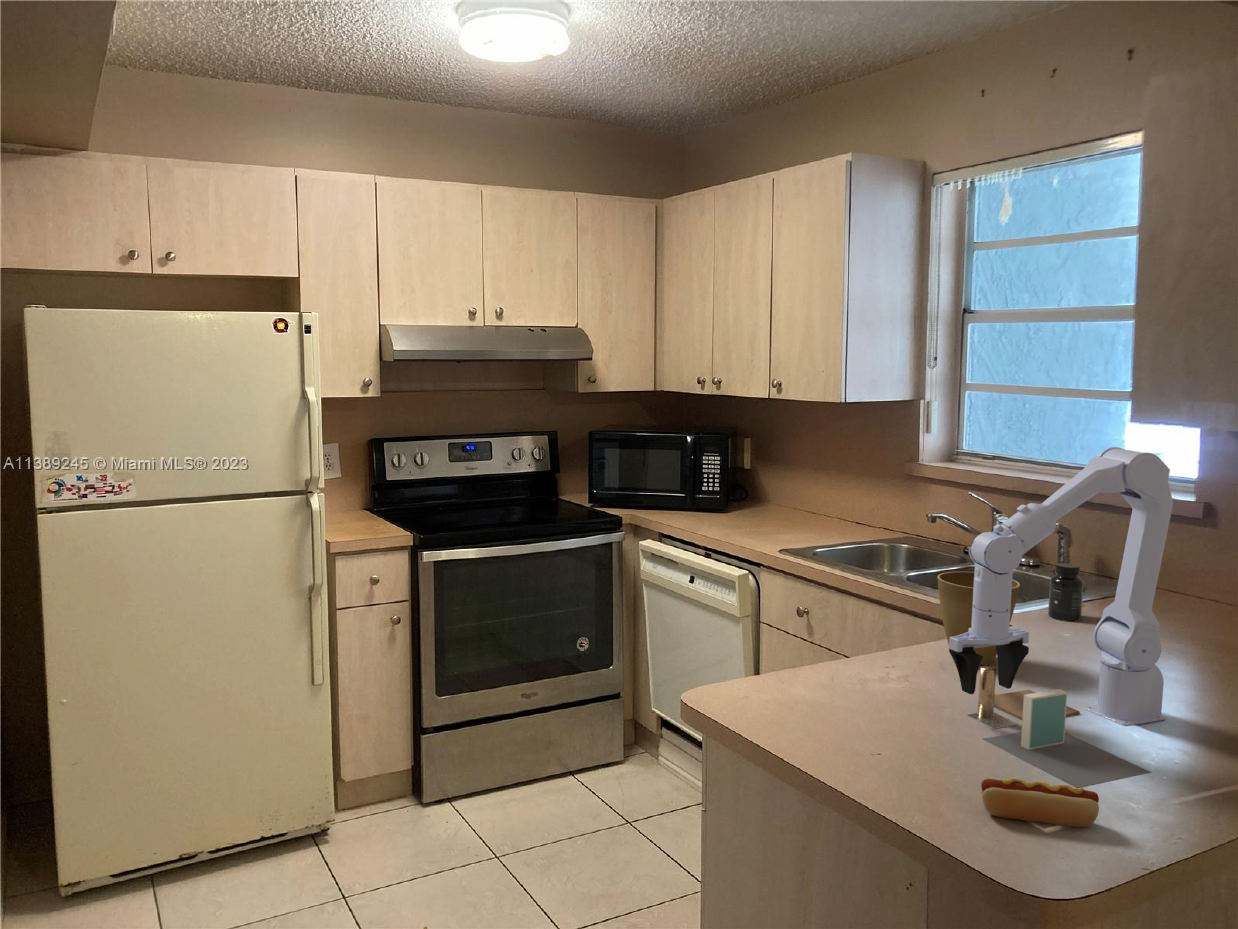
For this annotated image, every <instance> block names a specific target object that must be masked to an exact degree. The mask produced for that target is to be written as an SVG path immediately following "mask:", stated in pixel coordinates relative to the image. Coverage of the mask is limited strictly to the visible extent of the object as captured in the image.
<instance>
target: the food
mask: <svg viewBox="0 0 1238 929" xmlns="http://www.w3.org/2000/svg"><path fill="white" fill-rule="evenodd" d="M980 786H981V799H982V802H983V806H984V808H985V810H986V811H987V813H988V814H989V815H991V816H993V817H998V818H1005V819H1010V820H1011V819H1012V820H1020V821H1024V822H1030V823H1032V822H1034V823H1035V822H1036V823H1041V824H1043V823H1044V824H1050V825H1054V826H1055V825H1056V826H1061V827H1077V828H1088V827H1089V826H1091V825H1093V824H1094V823H1095V821H1096V819H1097V818H1098V816H1099V813H1100V806H1099V802H1100V798H1099V794H1098V793H1097V792H1095V791H1092V790H1087V789H1084V787H1080V788H1076V787H1073V786H1072V785H1069V784H1067V785H1066V784H1058V785H1051V784H1049V783H1048V782H1041V781H1033V782H1026V780H1022V779H1018V778H1011V779H1007V780H1006V779H996V778H985V779H983V780H982V781H981V784H980Z"/></svg>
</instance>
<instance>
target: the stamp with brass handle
mask: <svg viewBox="0 0 1238 929" xmlns="http://www.w3.org/2000/svg"><path fill="white" fill-rule="evenodd" d="M996 675H997V669H996V667H993V666H989V665H983V666H979V683H978V684H979V685H978V702H977V703H978V704H977V712H975V713H970V714H966V717H969V718H971V719H972V720H975V721H977V722H978V723H981V724H982V725H985V726H986V727H988V728H991V729H993V730H997V729H1001V728H1002V729H1003V728H1008V727H1012V726H1018V725H1019V723H1017V722H1015V721H1013V720H1011V719H1010V718H1007V717H1005V716H1002V715H1001V714H999V713H996V712H995V707H994V697H995V695H996V679H997V678H996Z"/></svg>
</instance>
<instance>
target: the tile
mask: <svg viewBox="0 0 1238 929" xmlns="http://www.w3.org/2000/svg"><path fill="white" fill-rule="evenodd" d="M1067 700H1068V692H1067V691H1065V690H1063V689H1061V688H1059V689H1058V688H1057V689H1052V690H1045V691H1040V692H1039V691H1038V692H1035V693H1032V694H1026V695H1024V702H1023V719H1022V720H1021V721H1022V722H1021V723H1022V724H1021V732H1022V736H1021V746H1022V747H1024V748H1026V749H1028V750H1030V749H1035V748H1040V747H1046V746H1051V745H1056V744H1062V743H1064V735H1065V733H1066V719H1067V718H1066V717H1067V716H1066V706H1067Z"/></svg>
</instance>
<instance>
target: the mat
mask: <svg viewBox="0 0 1238 929" xmlns="http://www.w3.org/2000/svg"><path fill="white" fill-rule="evenodd" d="M1021 736H1022V731H1019V732H1012V733H1008V734H1003V735H1002V734H1001V735H1000V734H999V735H996V736H991V737H990V736H988V737H985V738H982V741H983V740H984V741H986V742H987V743H989V744H991V745H993V746H995V747H996V748H998V749H1001V750H1003V751H1005V752H1007V753H1008V754H1010V755H1012V756H1014V757H1016V758H1018V759H1020V760H1022V761H1024V762H1025V763H1027V764H1030V765H1031V766H1034V767H1035V768H1037V769H1040V770H1041V771H1043V772H1045V773H1046V774H1049V775H1050V776H1053V777H1054V778H1057V779H1059V780H1060V781H1062V782H1064V783H1065V784H1067V785H1069V786H1071V787H1073V788H1075V789H1080V788H1085V787H1089V786H1093V785H1098V784H1104V783H1107V782H1108V783H1109V782H1111V781H1116V780H1121V779H1126V778H1127V779H1128V778H1131V777H1135V776H1141V775H1144V774H1145V775H1146V774H1150V773H1151V774H1152V771H1150V770H1148V769H1145V768H1143V767H1142V766H1139V765H1137V764H1135V763H1133V762H1130V761H1128V760H1126V759H1124V758H1122V757H1120V756H1118V755H1115V754H1113V753H1111V752H1110V751H1109V752H1108V751H1107V750H1104V749H1103V748H1100V747H1098V746H1096V745H1093V744H1091V743H1089V742H1087V741H1085V740H1083V739H1080V738H1078V737H1076V736H1073V735H1072V734H1069V733H1067V732H1065V735H1064V743H1062V744H1056V745H1051V746H1046V747H1040V748H1035V749H1030V750H1028V749H1026V748H1024V747H1022V746H1021Z"/></svg>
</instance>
